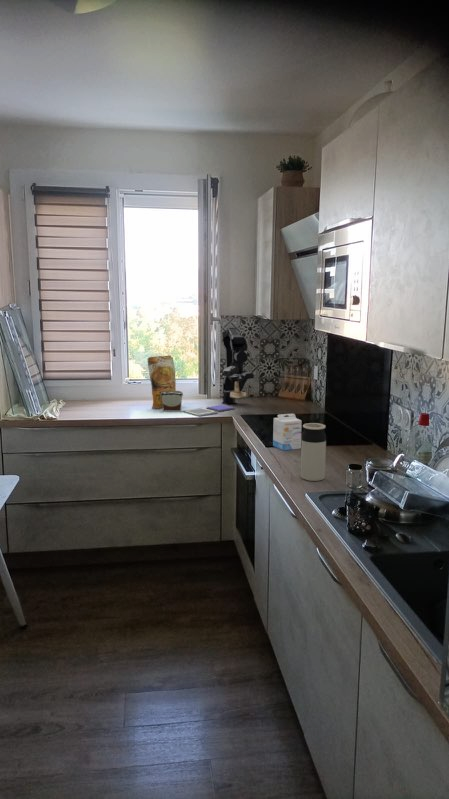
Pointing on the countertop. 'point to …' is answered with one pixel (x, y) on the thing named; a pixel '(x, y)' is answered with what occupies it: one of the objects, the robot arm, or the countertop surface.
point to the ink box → (287, 432)
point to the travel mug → (313, 452)
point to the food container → (171, 400)
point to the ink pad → (220, 408)
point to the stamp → (237, 392)
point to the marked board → (200, 412)
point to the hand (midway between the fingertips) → (238, 390)
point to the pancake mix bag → (161, 377)
